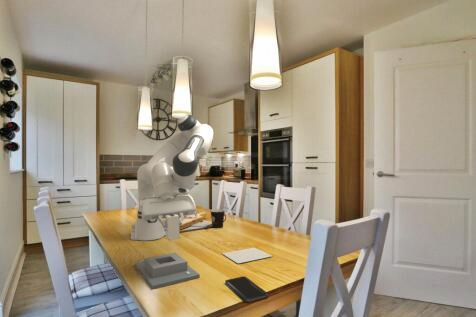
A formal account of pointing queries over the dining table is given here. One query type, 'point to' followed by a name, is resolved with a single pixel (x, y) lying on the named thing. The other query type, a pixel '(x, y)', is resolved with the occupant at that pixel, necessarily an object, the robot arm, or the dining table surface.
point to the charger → (172, 226)
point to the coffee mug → (217, 218)
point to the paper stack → (246, 255)
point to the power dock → (167, 277)
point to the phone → (246, 289)
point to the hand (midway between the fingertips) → (172, 225)
